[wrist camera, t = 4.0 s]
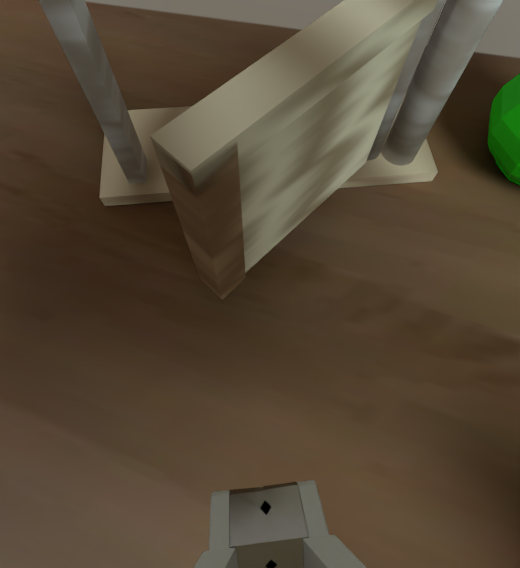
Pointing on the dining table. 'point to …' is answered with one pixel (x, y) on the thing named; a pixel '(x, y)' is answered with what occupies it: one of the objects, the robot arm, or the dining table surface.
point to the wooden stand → (143, 123)
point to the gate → (289, 131)
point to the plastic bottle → (506, 129)
